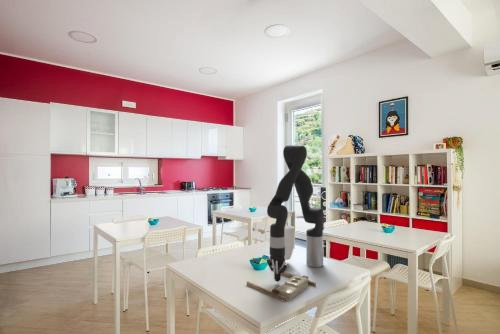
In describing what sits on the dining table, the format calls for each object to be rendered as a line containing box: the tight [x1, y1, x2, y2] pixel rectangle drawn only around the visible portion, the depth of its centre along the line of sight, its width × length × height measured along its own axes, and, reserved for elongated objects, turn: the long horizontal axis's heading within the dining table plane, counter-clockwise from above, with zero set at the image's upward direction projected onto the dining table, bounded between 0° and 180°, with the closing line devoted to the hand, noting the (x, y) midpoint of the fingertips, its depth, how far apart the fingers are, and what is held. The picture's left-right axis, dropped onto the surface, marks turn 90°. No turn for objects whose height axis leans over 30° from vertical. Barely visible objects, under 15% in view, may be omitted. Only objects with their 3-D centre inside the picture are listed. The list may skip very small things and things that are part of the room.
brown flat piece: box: [246, 271, 317, 302], centre depth 135 cm, size 24×24×3 cm
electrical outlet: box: [276, 274, 309, 301], centre depth 130 cm, size 7×4×18 cm
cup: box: [284, 224, 296, 261], centre depth 166 cm, size 10×10×22 cm
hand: (277, 280), depth 137 cm, fingers closed
